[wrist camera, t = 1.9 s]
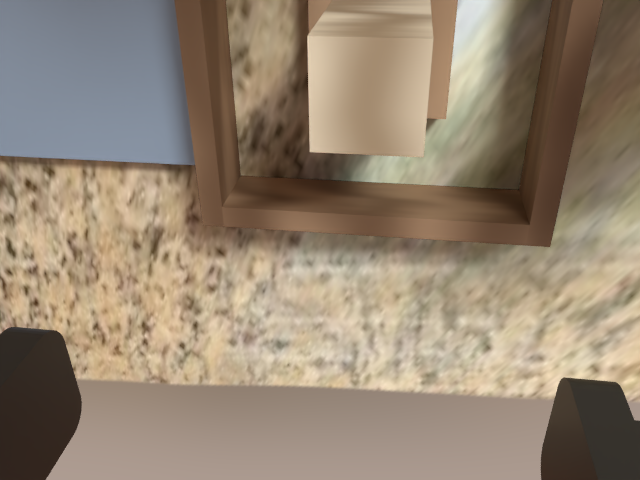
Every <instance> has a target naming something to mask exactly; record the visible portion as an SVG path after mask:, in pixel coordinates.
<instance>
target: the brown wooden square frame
mask: <svg viewBox="0 0 640 480" xmlns="http://www.w3.org/2000/svg"><path fill="white" fill-rule="evenodd" d="M331 1H332V0H308V26H309V33H310V32H311V30H312V29H313V27H314V26H315V24H316V23H317V21H318V20H319V19H320V17H321V16H322V14H323V13H324V11H325V10H326V9H327V7H328V6H329V4H330V3H331ZM430 1H431V14H432V27H433V50H432V62H431V74H430V86H429V98H428V110H427V118H432V119H446V113H447V103H448V92H449V82H450V72H451V62H452V52H453V42H454V32H455V22H456V12H457V2H458V0H430ZM174 2H175V10H176V18H177V26H178V34H179V42H180V49H181V57H182V65H183V73H184V81H185V89H186V97H187V105H188V112H189V120H190V128H191V136H192V144H193V152H194V160H195V168H196V175H197V183H198V191H199V199H200V207H201V215H202V223H203V225H206V226H223V227H239V228H255V229H271V230H287V231H303V232H319V233H335V234H351V235H367V236H383V237H399V238H416V239H432V240H448V241H464V242H480V243H496V244H512V245H528V246H544V247H550V245H551V240H552V236H553V231H554V226H555V222H556V217H557V213H558V208H559V203H560V199H561V194H562V190H563V185H564V180H565V176H566V171H567V166H568V162H569V157H570V153H571V148H572V143H573V139H574V134H575V129H576V125H577V120H578V116H579V111H580V106H581V102H582V97H583V93H584V88H585V83H586V79H587V74H588V69H589V65H590V60H591V56H592V51H593V46H594V42H595V37H596V33H597V28H598V23H599V19H600V14H601V9H602V5H603V0H552V4H551V10H550V16H549V21H548V27H547V33H546V38H545V44H544V50H543V55H542V61H541V67H540V73H539V78H538V84H537V90H536V95H535V101H534V107H533V112H532V118H531V124H530V129H529V135H528V141H527V147H526V152H525V158H524V164H523V169H522V175H521V181H520V186H519V190H509V189H489V188H470V187H450V186H431V185H411V184H392V183H372V182H353V181H333V180H313V179H294V178H274V177H255V176H241V174H240V162H239V151H238V139H237V128H236V116H235V104H234V93H233V81H232V69H231V58H230V46H229V34H228V23H227V11H226V0H174Z"/></svg>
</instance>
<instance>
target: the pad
mask: <svg viewBox="0 0 640 480" xmlns="http://www.w3.org/2000/svg"><path fill="white" fill-rule="evenodd" d="M0 156H18V157H38V158H59V159H79V160H99V161H119V162H140V163H160V164H180V165H195V160H194V152H193V144H192V136H191V128H190V120H189V112H188V105H187V97H186V89H185V81H184V73H183V65H182V57H181V49H180V42H179V34H178V26H177V18H176V10H175V2H174V0H0Z"/></svg>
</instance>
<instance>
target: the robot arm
mask: <svg viewBox="0 0 640 480" xmlns="http://www.w3.org/2000/svg"><path fill="white" fill-rule="evenodd" d="M81 403H82V402H81V395H80V392H79V388H78V385H77V382H76V378H75V375H74V371H73V368H72V365H71V361H70V358H69V354H68V351H67V348H66V344H65V341H64V338H63V336H62V335H61V334H60V333H59V332H57V331H54V330H43V329H31V328H20V327H11V328H8V329H6V330H5V331H3V332H2V333H1V334H0V480H46V478H47V477H48V475H49V473H50V472H51V470H52V468H53V467H54V465H55V464H56V462H57V461H58V459H59V457H60V456H61V454H62V453H63V451H64V449H65V448H66V446H67V444H68V443H69V441H70V440H71V438H72V437H73V435H74V433H75V431H76V429H77V426H78V423H79V420H80V415H81ZM541 480H640V421H635V420H634V418H633V416H632V413H631V411H630V408H629V405H628V403H627V400H626V398H625V395H624V393H623V390H622V388H621V387H620V385H619V384H618V383H616V382H608V381H597V380H586V379H575V378H562V379H561V381H560V383H559V385H558V389H557V392H556V396H555V400H554V404H553V408H552V412H551V416H550V419H549V424H548V427H547V431H546V435H545V439H544V443H543V447H542V454H541Z"/></svg>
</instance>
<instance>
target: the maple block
mask: <svg viewBox="0 0 640 480" xmlns="http://www.w3.org/2000/svg"><path fill="white" fill-rule="evenodd" d="M307 47H308V94H309V142H310V152H318V153H340V154H362V155H384V156H406V157H424V146H425V134H426V122H427V110H428V98H429V86H430V74H431V62H432V50H433V27H432V14H431V1H430V0H332V1H331V3H330V4H329V6H328V7H327V9H326V10H325V11H324V13H323V14H322V16H321V17H320V19H319V20H318V21H317V23H316V24H315V26H314V27H313V29H312V30H311V32H310V33H309V34H308V36H307Z"/></svg>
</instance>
